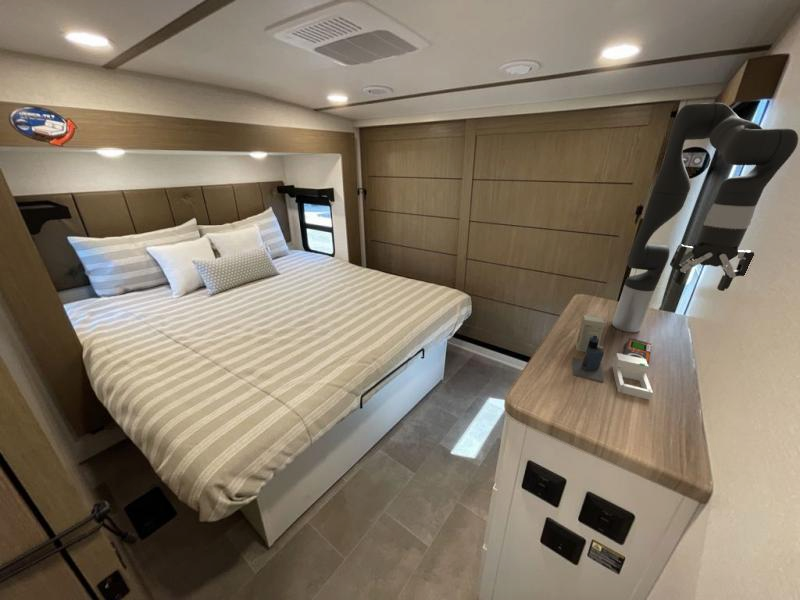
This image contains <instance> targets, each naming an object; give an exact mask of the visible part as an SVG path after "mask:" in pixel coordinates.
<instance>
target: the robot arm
mask: <svg viewBox="0 0 800 600" xmlns="http://www.w3.org/2000/svg"><path fill="white" fill-rule="evenodd" d="M706 139H709V143H710V145H711V147H713V148H714V149H715V150H717V151H719V152H720V153H721V156H722V158H721V159H722V161H723V162H724V163H725V164H728V165H732V166H753V168H752V169H751V170H750V171H749V172H747V173H746V174H744V175H738V176H733V177H728V178H726V179H724V180H723V181H722V183H721V184H720V186H719V188H718V192H717V193H716V196H715V199H714V201H713V203H712V206H711V208H710V209H709V211H708V213H707V215H706V218H705V220H704V222H703V224H702V227H701V229H700V232H699V235H698V237H697V240H696V243H695V244H694V245H693V246H688V245H684V244H678V245H677V246H676V247H677V248H676V249H675V252H674V254H673V256H672V259H671V261H670V263H669V266H670V267H671V268H672V269H674V270H676V273H675V275H674V278H673V282H674V283H675V285H676V286H678V287H679V286H682V284H683V282H684V279H685V276H686V274H687V273H686V272H687V271H688V270H690V269H691V268H695V267H696V266H698V265H701V266H711V267H720V268H721V270H722V271H723V272H724V274H722V275H721V276H722V277H721V278H720V281H719V283H718V285H717V288H716V289H717V290H718V291H720V292H721V291H722V292H724V291H725V290H728V289H730V287H731V284H732V281H733V279H735V277H745V276H744V275H745V273H746V271H747V269H748V266H749V264H750V262H751V260H752V258H753V256H754V257H755V255H754V253H755V252H753V251H751V250H749V249H744V250H739V247H740V245H741V243H742V241H743V239H744V237H745V234H746V232H747V230H748V228H749V226H750V225H751V222H752V219H753V217H754V214H755V211H756V206H757V205H758V202H759V200H760V198H761V196H762V194H763V191H764V189H765V187H767V185H768V184H769V182H770V181H771V180H772V179H773V178H774V176H775V175H776V174H777V172H778V171H779V170H780V169H781V168H782V167H783V165H784V164H785V163H786V162H787V160H789V159H790V157H792V155H793V153H794V152H795V150H796V148H797V146H798V144H799V135H798V133H797V131H796V130H794V129H792V128H766V129H765V128H763V127H761V126H760V125H759V124H758V123H755V122H752V121H750V120H746V119H744V118H741V117H740V116H738V114H737V113H736V112H734V110H733V109H732V108H731V107H730V106H729V105H728V104H727V103H722V102H705V103H690V104H685V105H684V106H683V107H681V108H680V109H679V111H678V112H677V114H676V116H675V118H674V121H673V124H672V127H671V131H670V133H669V137H668V142H667V145H666V148H665V153H664V155H663V160H662V163H661V167H660V168H659V172H658V174H657V176H656V180H655V182H654V185H653V187H652V190H651V193H650V196H649V199H648V202H647V205H646V209H645V213H644V215H643V219H642V221H641V224H640V227H639V229H638V231H637V234H636V237H635V238H634V240H633V243H632V246H631V248H630V251H629V253H628V256H627V262H626V263H627V266H628V268H630V269H633V270H643V271H644V270H645V272H642V273H639V274H635V275H630V276H627V278H626V279H625V282H624V285H623V288H622V291H621V295H620V298H619V301H618V305H617V307H616V310H615V313H614V316H613V320H612V323H611V324H612V327H614V328H616V329H617V330H620V331H622V332H623V331H624V332H627V333H638V332H641V331H640V330H641V329H642V326H643V324H644V320H645V317H646V315H647V312H648V309H649V306H650V303H651V301H652V298H653V296H654V293H655V291H656V288H657V285H658V284H659V282H660V279H661V276H662V274H663V272H664V270H665V268H666V266H667V263H668V261H669V257H670V251H671V250H670V248H669V246H667V245H663V244H656V243H655V244H654V243H652V244H651V243H648V242H649V240H650V239H651V237H653V235H654V234H655V233H656V232H657V230H659V229H660V228H661V227H662V226H663V225H664V224H666V223H667V222H668V221H670V220H671V219H672V218H674V217H675V216H676V215H678V213H679V212H681V210H682V209H683V207H684V205H685V203H686V200H687V198H688V194H689V193H690V190H691V180H690V177H689V174H688V172H687V169H686V167H685V162H684V159H683V158H684V157H683V154H684V153H683V152H684V146H685V143H686V141H690V140H691V141H692V140H693V141H694V140H695V141H696V140H706ZM689 252H691V254H692V256H690V257H689V258H687V259H685V261H684V262H682V260H683V258H684V255H685V256H686V255H688V253H689ZM735 257H737V258H738V259H739V261H738V264H737V266H736V269H733V268H734V267H733V265H732V264H731V262H730V261H731V260H732V259H734V258H735ZM753 259H754V258H753ZM752 261H753V260H752ZM681 262H682V263H681Z"/></svg>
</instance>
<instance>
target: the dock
mask: <svg viewBox="0 0 800 600" xmlns="http://www.w3.org/2000/svg"><path fill="white" fill-rule="evenodd" d="M624 353H625V351H624V352H623V353H618V352H616V354H615V358H614V359H613V362H612V365H611V366H612V372H613V376H614V380H615V385H616V390H617V391H616V392H617V393H621V394H625V395H629V396H633V397H638V398H641V399H644V400H645V399H646V400H648V401H651V398H652V396H653V393H654V392H653V389H652V387H651V384H650V381H649V379H648V376H647V375H648V374H647V371H648V368H649V363H648V364H647V361H646V359H643V358H638V357H633V356H629V355H624ZM623 378H626V379H630V380H634V381H639V384H640V386H641V387H640V386H636V385H632V384H627V383H624V379H623Z"/></svg>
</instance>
